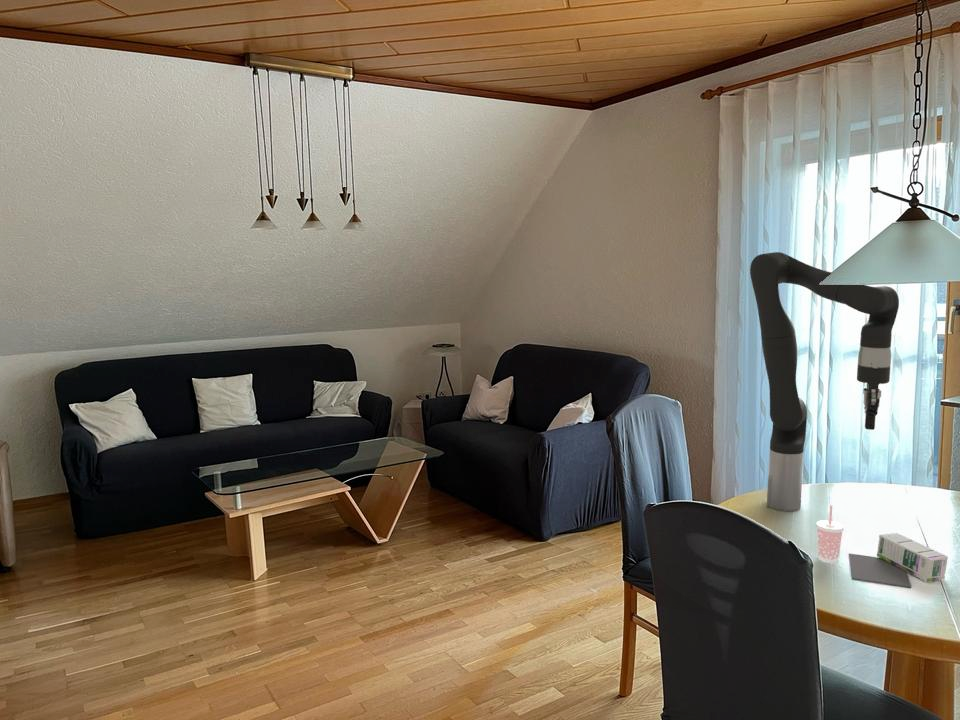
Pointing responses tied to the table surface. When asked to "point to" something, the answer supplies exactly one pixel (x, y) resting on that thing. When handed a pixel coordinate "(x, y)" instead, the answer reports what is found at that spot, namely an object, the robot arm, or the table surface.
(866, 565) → the mat
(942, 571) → the syrup box
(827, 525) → the beverage cup
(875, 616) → the table surface
